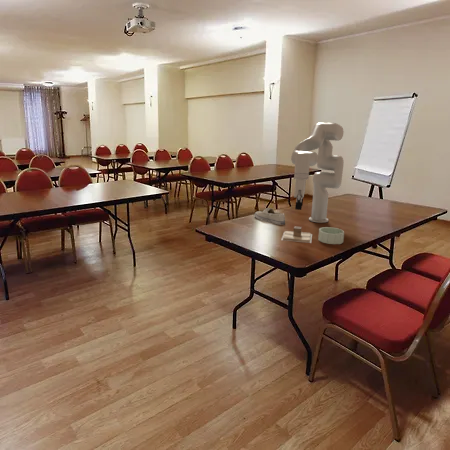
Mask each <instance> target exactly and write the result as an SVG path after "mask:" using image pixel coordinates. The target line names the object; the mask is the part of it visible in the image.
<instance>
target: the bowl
mask: <svg viewBox="0 0 450 450" xmlns="http://www.w3.org/2000/svg"><path fill="white" fill-rule="evenodd" d="M344 239H345V231H344V230H343V229H341V228H338V227H330V226H325V227H319V228H318V241H319V242H321V243H324V244H329V245H341V244H344Z"/></svg>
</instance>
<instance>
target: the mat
mask: <svg viewBox="0 0 450 450" xmlns="http://www.w3.org/2000/svg"><path fill="white" fill-rule="evenodd" d="M284 234H285V231H283V234H282V236H281V239H280V240H281V241H287V242H292V241H291V240H283V237H284ZM312 238H313V233H310V242H305V243H306V244H307V243H309V244H312ZM295 242H298V243H303V242H302V241H294V243H295Z"/></svg>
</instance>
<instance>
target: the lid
mask: <svg viewBox="0 0 450 450" xmlns="http://www.w3.org/2000/svg"><path fill="white" fill-rule="evenodd" d="M302 227H303V226H297V225H296V226H295V225H294V227H293V231H291V230H285V231H284V232H285V234H284V237H283V240H282V241H284V240H291V241H290V242H295V241H302V242H301V243H306V242H310V234H311V232H303V231H302Z"/></svg>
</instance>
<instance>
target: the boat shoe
mask: <svg viewBox="0 0 450 450" xmlns="http://www.w3.org/2000/svg"><path fill="white" fill-rule="evenodd" d="M254 218H256V219H257V220H260V221H265V222H270V223H272V224H275V225H278V226H280V225H283V226H284V225H286V217H285V213H284V212H283V213H280V212H275V209H274V208H272V207H267V208H265V209H264V210H263V211H260V210H259V211H258V210H257V211H256V212H255V213H254Z"/></svg>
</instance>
